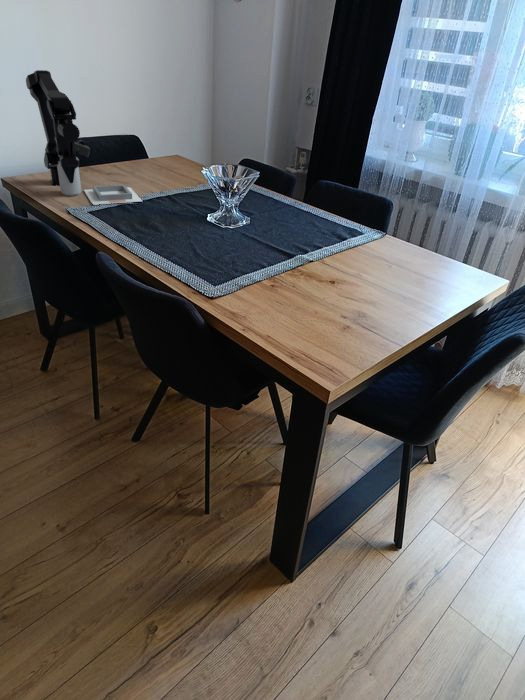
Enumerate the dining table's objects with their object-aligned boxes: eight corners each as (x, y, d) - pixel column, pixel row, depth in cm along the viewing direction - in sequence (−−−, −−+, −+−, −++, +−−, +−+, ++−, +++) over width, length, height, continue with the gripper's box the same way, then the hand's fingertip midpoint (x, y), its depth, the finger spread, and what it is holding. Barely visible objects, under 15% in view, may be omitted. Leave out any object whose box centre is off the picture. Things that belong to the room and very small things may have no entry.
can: (84, 192, 192) (81, 159, 185) (76, 197, 186) (72, 164, 179) (66, 189, 192) (61, 157, 186) (57, 195, 186) (52, 162, 180)
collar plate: (84, 191, 193) (83, 184, 191) (130, 188, 200) (129, 182, 199) (93, 205, 180) (92, 198, 178) (142, 202, 187) (142, 195, 186)
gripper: (91, 140, 174) (96, 185, 183) (82, 129, 188) (86, 172, 196) (58, 141, 170) (64, 187, 178) (50, 130, 183) (57, 173, 192)
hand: (69, 179), depth 186 cm, fingers open, 9 cm apart
